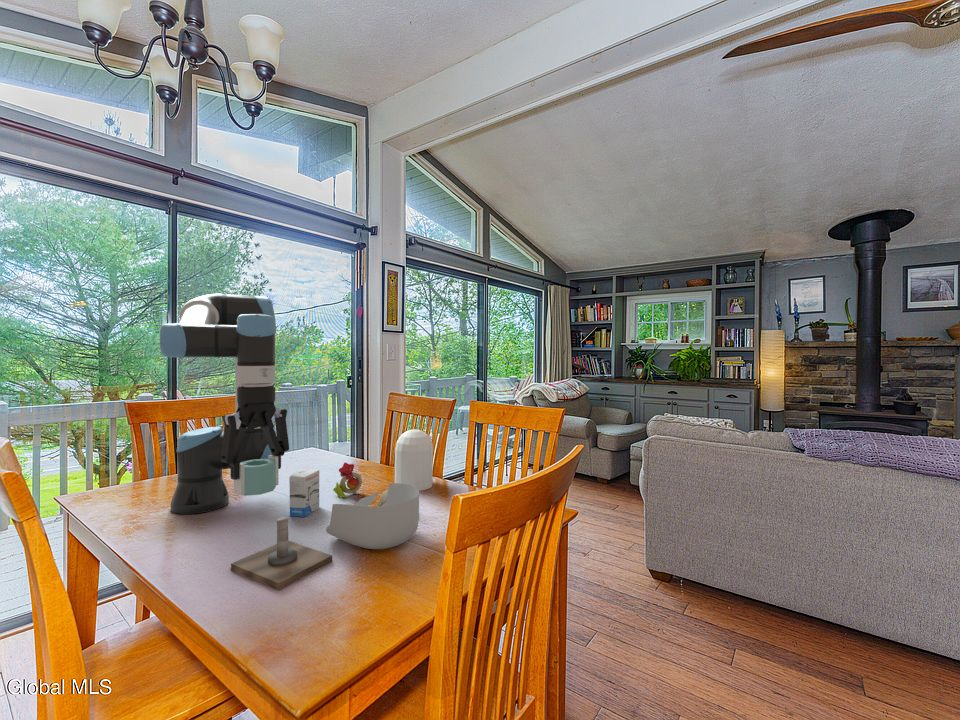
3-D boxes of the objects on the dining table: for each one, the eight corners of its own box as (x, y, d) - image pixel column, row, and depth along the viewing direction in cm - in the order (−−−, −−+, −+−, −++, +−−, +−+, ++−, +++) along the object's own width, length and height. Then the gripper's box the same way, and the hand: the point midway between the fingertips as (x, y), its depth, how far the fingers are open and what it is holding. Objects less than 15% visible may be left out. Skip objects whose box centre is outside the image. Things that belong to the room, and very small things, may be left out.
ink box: (304, 517, 129) (303, 477, 129) (288, 516, 130) (288, 475, 130) (320, 507, 138) (320, 469, 137) (305, 505, 139) (305, 468, 138)
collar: (231, 491, 98) (231, 464, 98) (262, 483, 104) (261, 457, 104) (250, 497, 94) (250, 468, 94) (281, 488, 101) (281, 461, 100)
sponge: (409, 527, 134) (420, 494, 139) (393, 517, 126) (405, 483, 131) (383, 521, 138) (395, 489, 142) (367, 512, 130) (380, 478, 135)
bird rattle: (350, 497, 153) (325, 491, 148) (362, 465, 155) (339, 458, 150) (357, 502, 148) (332, 497, 143) (370, 470, 150) (346, 463, 145)
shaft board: (230, 570, 99) (230, 523, 98) (286, 545, 111) (285, 503, 111) (278, 590, 91) (278, 539, 91) (332, 561, 103) (332, 516, 103)
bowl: (380, 564, 102) (380, 513, 102) (323, 544, 112) (323, 497, 112) (434, 533, 119) (434, 489, 119) (380, 518, 129) (380, 477, 129)
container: (440, 483, 163) (440, 428, 162) (416, 493, 151) (416, 434, 151) (411, 477, 170) (412, 424, 169) (386, 486, 158) (386, 430, 158)
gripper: (219, 389, 88) (220, 505, 89) (306, 383, 106) (306, 480, 106) (199, 387, 92) (200, 498, 93) (286, 381, 109) (286, 475, 110)
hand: (256, 488), depth 99 cm, fingers closed on collar, 7 cm apart
